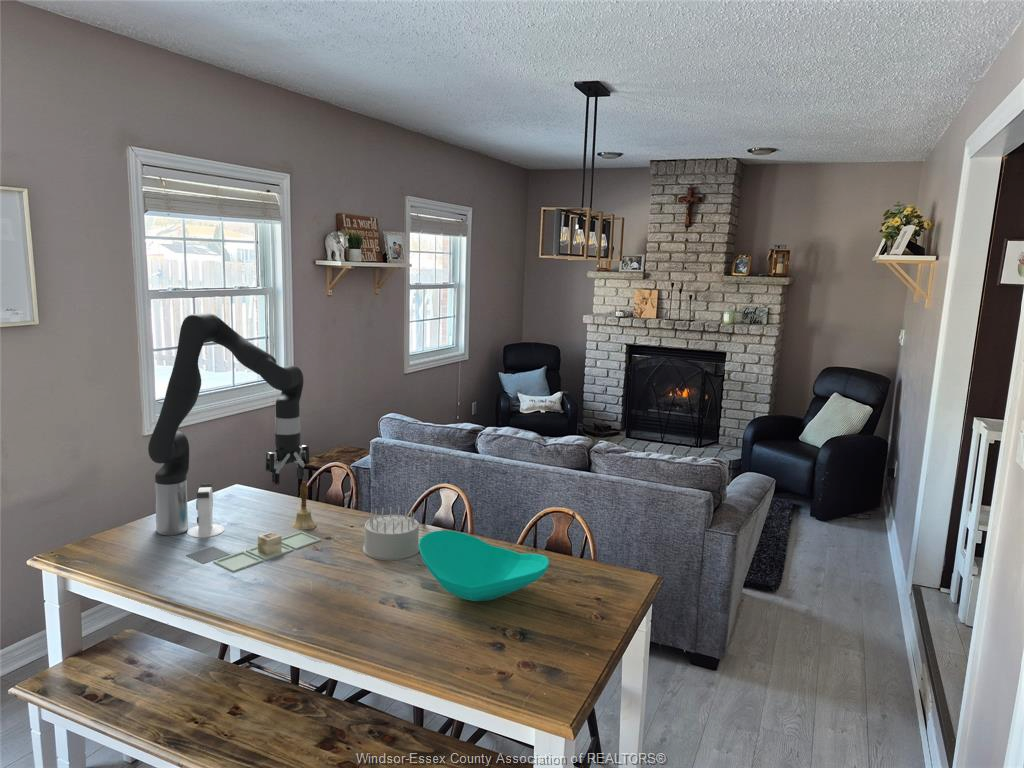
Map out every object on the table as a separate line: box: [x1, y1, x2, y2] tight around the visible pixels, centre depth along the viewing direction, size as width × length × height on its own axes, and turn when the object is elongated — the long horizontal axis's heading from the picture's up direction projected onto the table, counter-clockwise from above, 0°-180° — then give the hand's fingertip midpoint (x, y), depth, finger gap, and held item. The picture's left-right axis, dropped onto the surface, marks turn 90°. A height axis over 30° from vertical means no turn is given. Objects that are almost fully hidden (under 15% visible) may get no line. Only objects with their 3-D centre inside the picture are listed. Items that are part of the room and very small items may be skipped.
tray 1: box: [212, 550, 264, 573], centre depth 212 cm, size 10×10×1 cm
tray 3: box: [282, 531, 322, 551], centre depth 230 cm, size 10×10×1 cm
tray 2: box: [245, 544, 294, 561], centre depth 221 cm, size 10×10×1 cm
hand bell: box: [291, 480, 317, 530], centre depth 242 cm, size 8×8×16 cm
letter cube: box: [257, 531, 283, 555], centre depth 220 cm, size 5×5×5 cm
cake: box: [362, 506, 420, 562], centre depth 227 cm, size 18×18×13 cm
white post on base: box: [186, 482, 225, 539], centre depth 234 cm, size 12×11×15 cm
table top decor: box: [418, 529, 550, 602], centre depth 198 cm, size 40×28×13 cm
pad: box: [185, 546, 231, 565], centre depth 216 cm, size 9×9×1 cm
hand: (288, 481), depth 220 cm, fingers open, 8 cm apart
